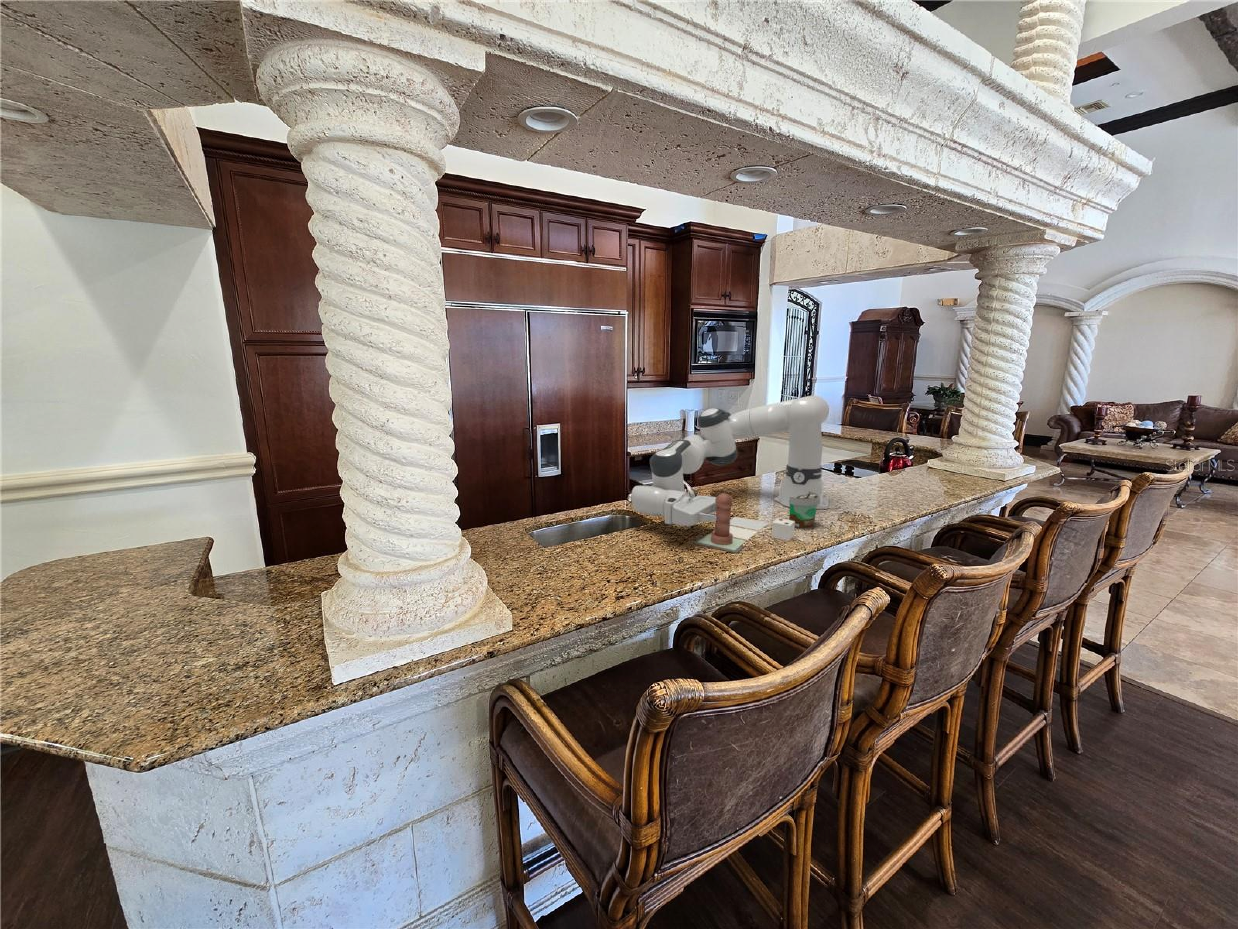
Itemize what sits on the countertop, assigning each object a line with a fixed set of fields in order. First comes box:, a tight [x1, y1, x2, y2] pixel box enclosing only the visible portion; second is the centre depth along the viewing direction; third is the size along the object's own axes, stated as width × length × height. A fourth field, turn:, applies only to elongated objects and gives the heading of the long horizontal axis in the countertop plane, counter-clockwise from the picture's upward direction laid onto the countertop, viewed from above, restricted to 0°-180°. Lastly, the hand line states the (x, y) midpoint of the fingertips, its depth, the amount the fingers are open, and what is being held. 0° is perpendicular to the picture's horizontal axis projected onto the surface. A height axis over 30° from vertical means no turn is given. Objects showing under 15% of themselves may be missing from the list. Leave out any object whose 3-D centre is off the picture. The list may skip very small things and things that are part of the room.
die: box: [770, 517, 795, 542], centre depth 145 cm, size 5×5×5 cm
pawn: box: [711, 492, 734, 545], centre depth 139 cm, size 6×6×14 cm
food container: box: [788, 491, 820, 529], centre depth 155 cm, size 12×6×10 cm, turn 131°
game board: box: [692, 516, 769, 554], centre depth 149 cm, size 31×13×1 cm, turn 146°
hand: (723, 514), depth 139 cm, fingers open, 8 cm apart
